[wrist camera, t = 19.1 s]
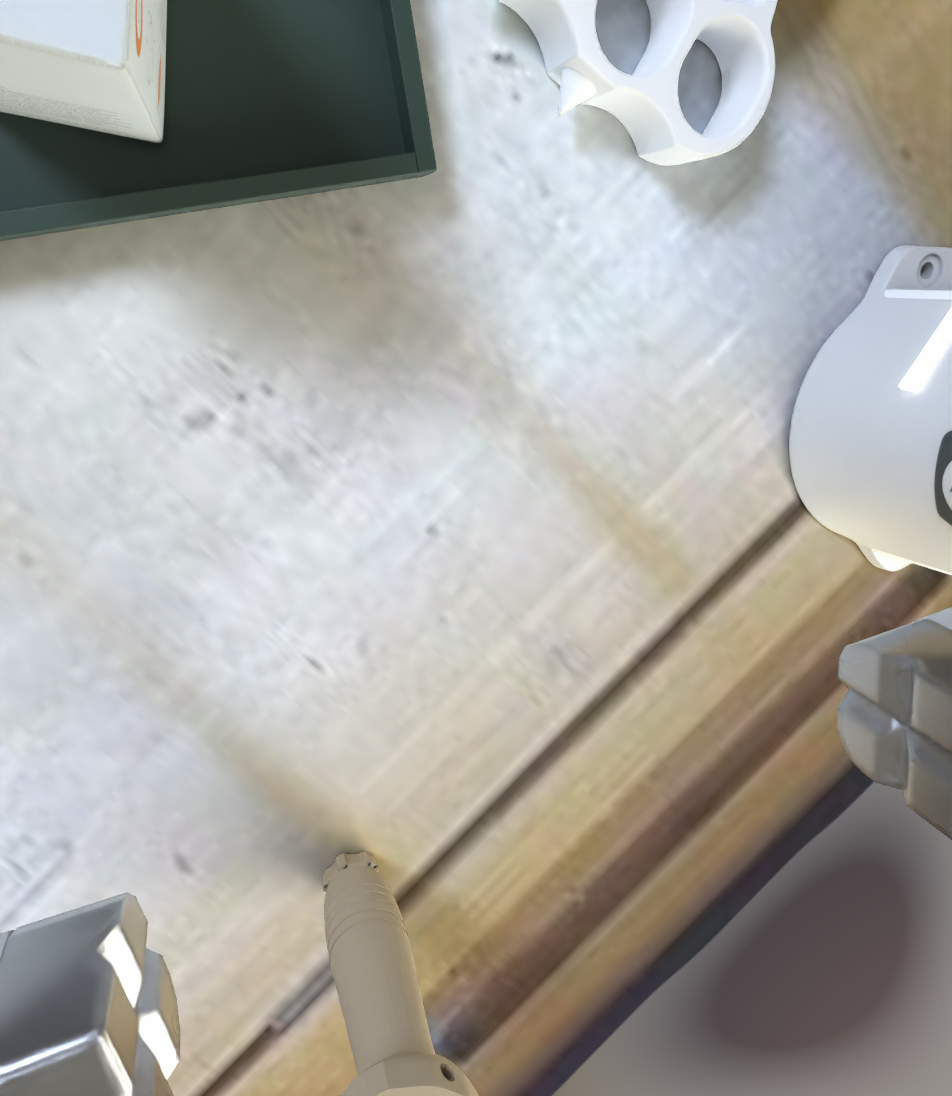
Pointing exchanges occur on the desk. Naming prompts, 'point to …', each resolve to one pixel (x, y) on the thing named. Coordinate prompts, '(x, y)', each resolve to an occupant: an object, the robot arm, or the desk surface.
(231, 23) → the tray
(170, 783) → the desk surface
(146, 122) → the small box
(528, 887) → the desk surface
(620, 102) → the white brass knuckles
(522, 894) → the desk surface
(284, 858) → the desk surface
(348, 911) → the handle
